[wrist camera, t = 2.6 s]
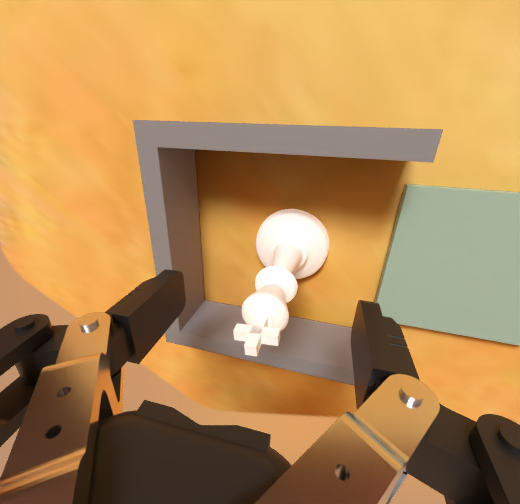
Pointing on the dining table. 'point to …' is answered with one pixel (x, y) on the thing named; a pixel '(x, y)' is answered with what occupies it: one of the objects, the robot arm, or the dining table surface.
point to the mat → (455, 263)
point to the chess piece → (280, 274)
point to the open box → (189, 239)
